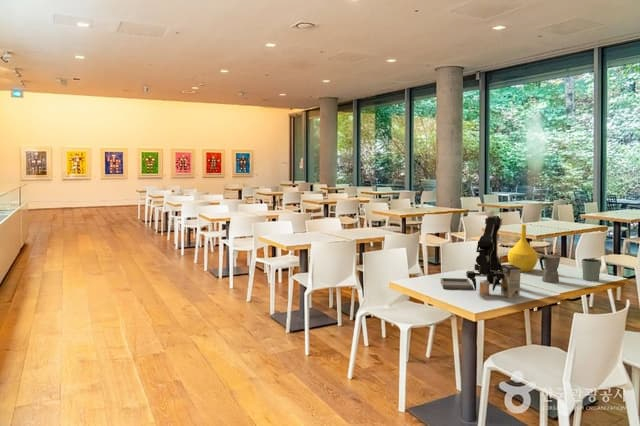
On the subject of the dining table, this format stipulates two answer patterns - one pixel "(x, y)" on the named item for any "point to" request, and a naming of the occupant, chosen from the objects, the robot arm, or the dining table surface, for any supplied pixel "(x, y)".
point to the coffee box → (510, 281)
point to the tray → (456, 283)
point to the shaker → (484, 287)
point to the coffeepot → (550, 268)
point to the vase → (523, 254)
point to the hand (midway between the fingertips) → (484, 290)
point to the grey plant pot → (591, 269)
